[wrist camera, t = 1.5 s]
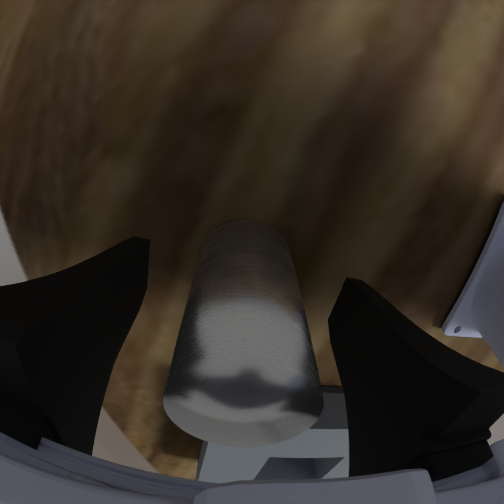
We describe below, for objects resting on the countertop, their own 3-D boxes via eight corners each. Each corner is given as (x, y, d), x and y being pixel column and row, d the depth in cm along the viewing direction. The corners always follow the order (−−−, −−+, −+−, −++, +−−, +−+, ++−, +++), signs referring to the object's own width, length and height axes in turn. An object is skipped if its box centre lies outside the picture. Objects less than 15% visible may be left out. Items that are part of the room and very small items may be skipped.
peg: (301, 229, 12) (350, 371, 6) (277, 304, 14) (294, 450, 7) (208, 210, 12) (165, 345, 5) (195, 288, 13) (162, 435, 7)
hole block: (407, 387, 17) (422, 423, 14) (334, 466, 22) (339, 494, 20) (218, 374, 16) (214, 420, 13) (198, 459, 21) (195, 490, 18)
